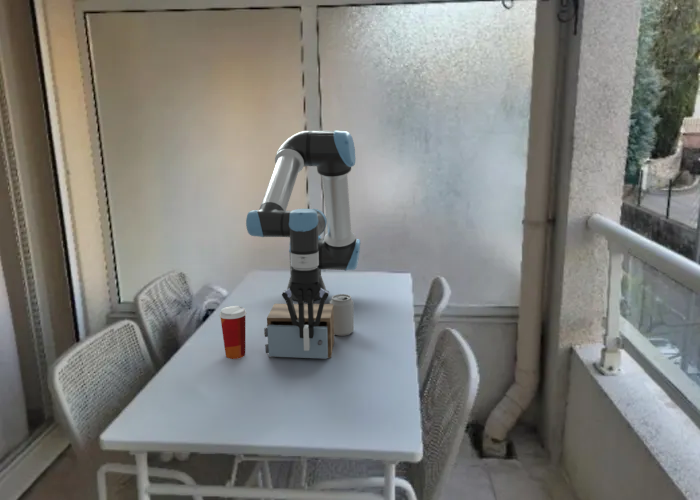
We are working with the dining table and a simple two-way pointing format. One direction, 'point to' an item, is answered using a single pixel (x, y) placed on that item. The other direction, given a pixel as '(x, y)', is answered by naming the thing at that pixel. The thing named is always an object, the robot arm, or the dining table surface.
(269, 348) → the door
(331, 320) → the cabinet
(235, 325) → the paper cup
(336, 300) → the can
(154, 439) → the dining table surface
